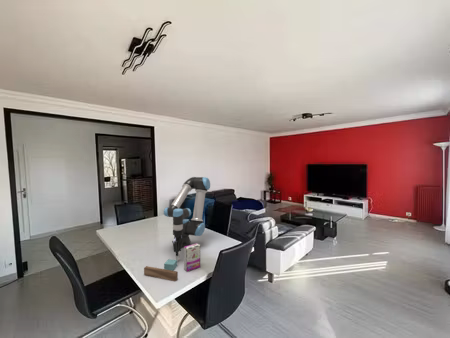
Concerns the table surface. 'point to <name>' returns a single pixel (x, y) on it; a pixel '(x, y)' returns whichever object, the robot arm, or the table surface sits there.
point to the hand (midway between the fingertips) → (177, 259)
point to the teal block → (170, 264)
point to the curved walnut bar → (161, 273)
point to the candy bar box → (191, 257)
